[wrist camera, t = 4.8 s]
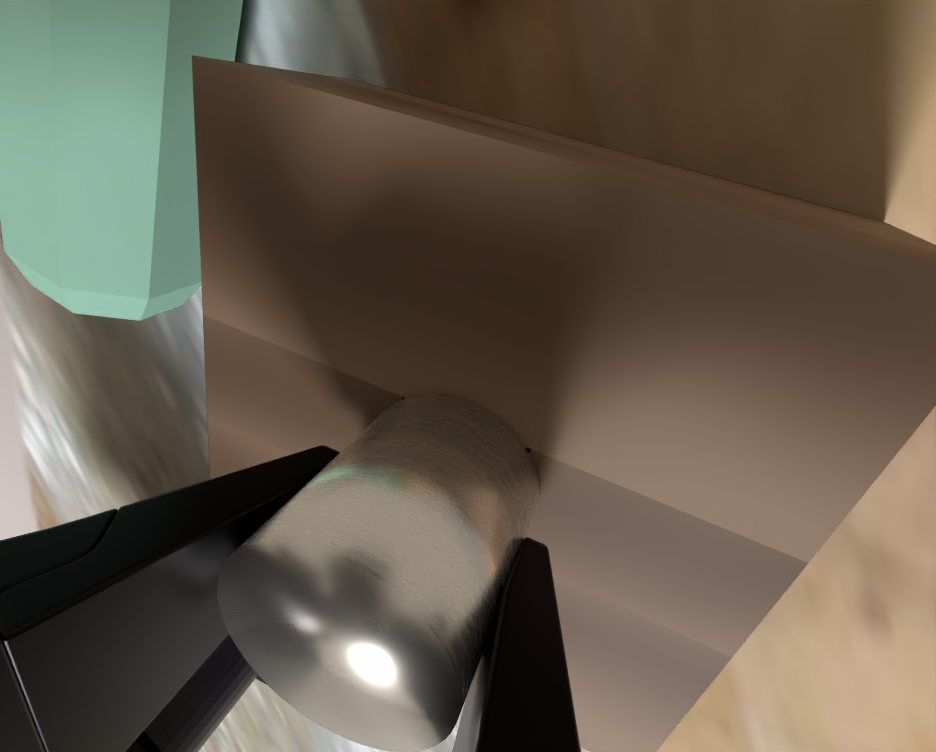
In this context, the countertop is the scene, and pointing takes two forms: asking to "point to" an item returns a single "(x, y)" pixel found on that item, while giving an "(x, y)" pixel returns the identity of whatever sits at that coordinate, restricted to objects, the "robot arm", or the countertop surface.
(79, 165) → the mint green octagonal rod
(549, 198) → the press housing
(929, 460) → the countertop surface
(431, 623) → the silver metal peg
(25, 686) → the robot arm
